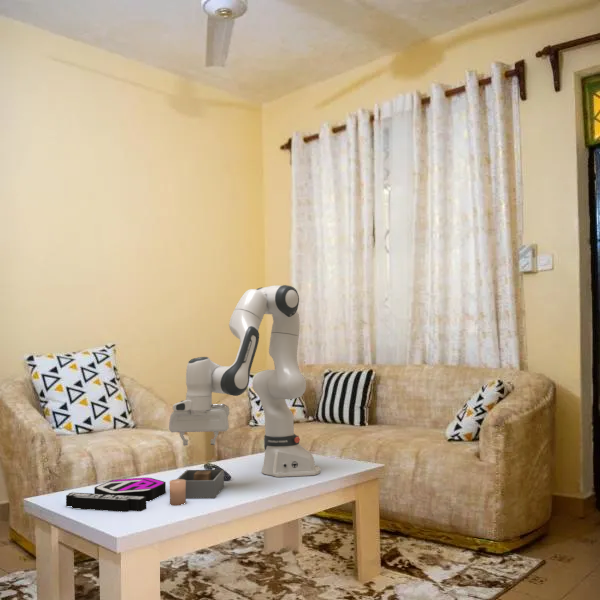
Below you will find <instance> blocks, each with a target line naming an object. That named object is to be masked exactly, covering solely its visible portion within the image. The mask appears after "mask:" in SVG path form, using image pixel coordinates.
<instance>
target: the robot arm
mask: <svg viewBox="0 0 600 600" xmlns="http://www.w3.org/2000/svg"><path fill="white" fill-rule="evenodd" d="M299 305H300V297H299V293H298V291H297V289H296V288H295V287H294V286H292V285H287V284H283V285H282V284H281V285H279V284H278V285H269V286H264V287H259V288H256V289H255V288H249V289H247V290H246V291H245V292H244V293H243V295H242V296H241V297H240V299H239V300H238V302H237V304H236V306H235V308H234V309H233V312H232V314H231V315H230V318H229V324H228V326H229V330H230V332H231V333H232V335H233V336H234V337H236V339H238V340H239V342H240V343H239V347H238V351H237V354H236V357H235V360H234V361H233V363H232V364H231V365H227V366H225V365H221V364H218V363H216V362H214V361H213V360H211V358H210V357H208V356H199V357H198V356H197V357H195V358H192V359H190V360H188V362H187V363H186V364H187V365H186V372H185V385H186V392H185V394H186V395H185V400H180V401H179V402H176V403H173V405H172V410H173V411H172V413H171V414H170V415H169V416H170V417H169V423H168V424H169V425H168V429H169V432H171V433H179V437H180V439H181V440H182V446H188V444H189V443H188V442H189V440H188V439H186V437H185V433H196V432H197V433H200V432H201V433H203V432H205V433H206V432H209V433H210V432H211V433H212V432H213V435H214V437H213V438H211V439H210V445H211V446H216V439H217V437H218V435H219V432H227V431H228V430H229V428H230V427H229V418H228V417H229V415H230V407H229V406H228V405H226V404H224V403H220V404H219V403H213V395H212V394H213V393H216V394H224V395H229V396H232V397H233V396H234V397H238V396H240V395H242V394H244V393H245V392H246V390H247V388H248V386H249V384H250V377H251V376H250V375H251V370H252V366H253V362H254V359H255V355H256V353H257V349H258V345H259V340H260V332H259V329H260V326H261V325H262V324H261V323H262V321H263V319H264V316H265V315H271V316H272V321H273V323H272V326H271V331H270V338H269V347H268V354H269V356H270V357H271V358H272V360H273V364H274V369H266V370H261V371H259V372H257V373H256V374H254V376H253V378H252V382H251V383H252V385H251V386H252V390H253V391H254V392H255V393H256V395H257V396H258V398H259V400H260V403H261V406H262V409H263V414H264V429H265V430H264V432H265V433H264V436H263V437H264V438H263V447H264V457H263V460H264V461H263V465H262V470H261V473H262V474H264V475H267V476H272V477H276V478H282V477H283V478H284V477H303V476H306V477H307V476H316V475H319V474H320V473H321V467H320V466H319V465H315V459H314V456H313V454H312V453H311V452H310V451H309V450H308V449H306V448H305V447H304V446H302V445H301V444H300V441H301V440H300V439H301V438H300V436H299V435H297V434H295V428H294V427H295V425H294V418H295V417H294V413H293V412H292V410H291V409H290V408H289V406H288V404H287V400H293V399H299V398H300V397H302V396H303V395H304V394H305V392H306V390H307V381H306V378H305V377H304V375H303V373H302V372H301V370H300V367H299V362H298V348H299V339H300V328H301V327H300V313H299V312H298V309H299Z"/></svg>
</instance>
